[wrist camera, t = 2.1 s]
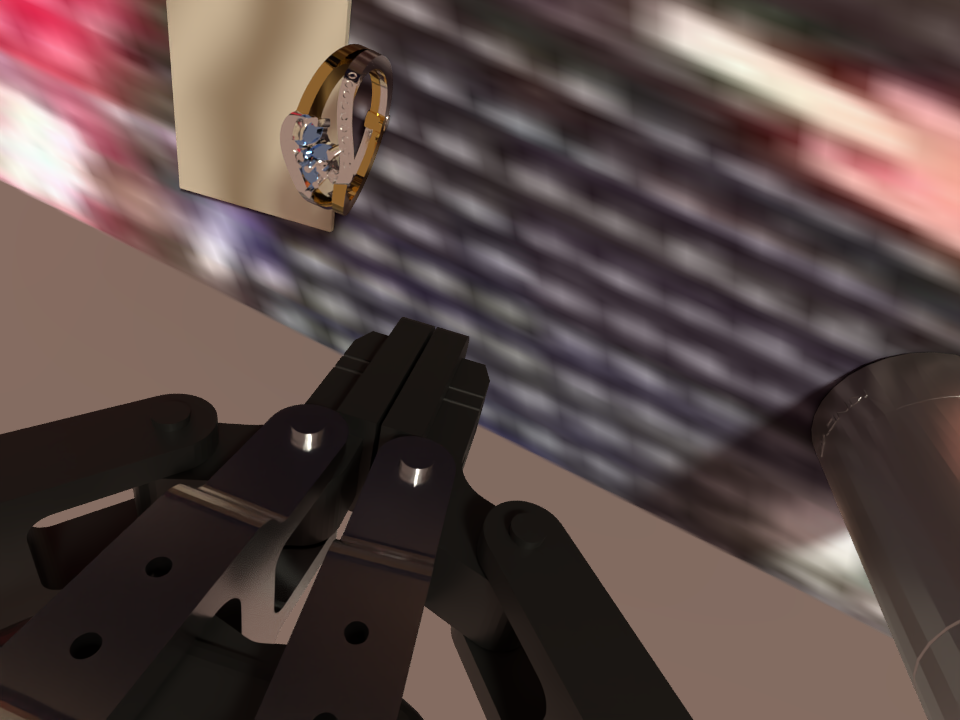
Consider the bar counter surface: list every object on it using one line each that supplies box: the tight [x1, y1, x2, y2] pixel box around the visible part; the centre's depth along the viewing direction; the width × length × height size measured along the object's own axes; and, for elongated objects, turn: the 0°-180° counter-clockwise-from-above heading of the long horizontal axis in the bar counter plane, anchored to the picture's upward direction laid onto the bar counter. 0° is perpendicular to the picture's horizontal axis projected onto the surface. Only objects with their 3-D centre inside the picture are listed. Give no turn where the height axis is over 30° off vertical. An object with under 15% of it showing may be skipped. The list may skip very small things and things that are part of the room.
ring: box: [280, 44, 393, 216], centre depth 26 cm, size 7×3×8 cm, turn 159°
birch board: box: [166, 0, 352, 232], centre depth 29 cm, size 9×13×1 cm
